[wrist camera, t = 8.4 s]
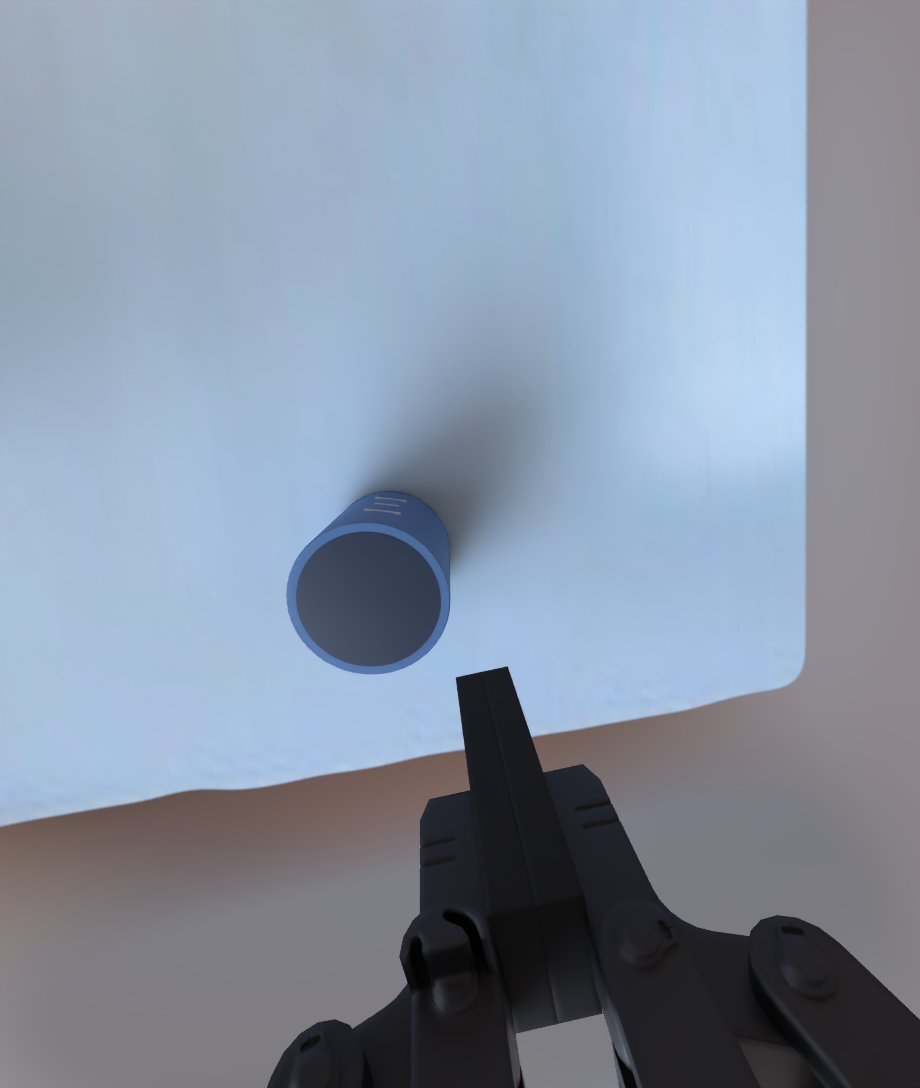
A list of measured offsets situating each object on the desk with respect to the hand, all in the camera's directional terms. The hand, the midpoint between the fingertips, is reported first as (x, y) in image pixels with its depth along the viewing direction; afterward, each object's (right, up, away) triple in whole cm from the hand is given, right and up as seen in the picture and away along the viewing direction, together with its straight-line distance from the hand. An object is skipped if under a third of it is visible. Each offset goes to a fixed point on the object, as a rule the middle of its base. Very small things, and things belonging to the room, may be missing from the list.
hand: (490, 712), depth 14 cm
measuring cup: (-2, +3, +16) cm, 16 cm away
